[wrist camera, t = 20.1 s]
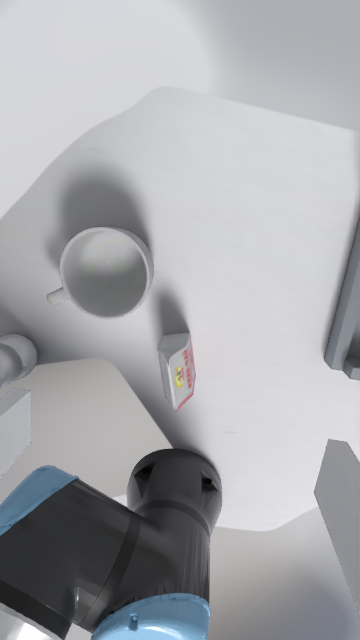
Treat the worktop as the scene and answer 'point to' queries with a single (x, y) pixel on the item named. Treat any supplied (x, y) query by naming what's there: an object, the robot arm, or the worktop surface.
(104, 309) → the teacup
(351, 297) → the tray
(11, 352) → the plastic bottle
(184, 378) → the white red carton
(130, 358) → the worktop surface
